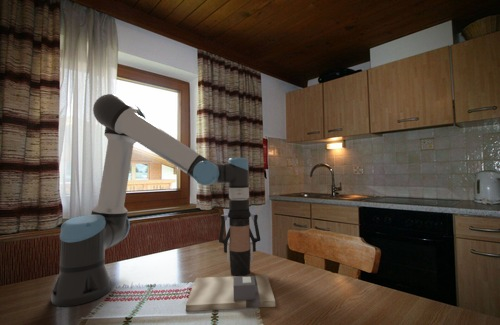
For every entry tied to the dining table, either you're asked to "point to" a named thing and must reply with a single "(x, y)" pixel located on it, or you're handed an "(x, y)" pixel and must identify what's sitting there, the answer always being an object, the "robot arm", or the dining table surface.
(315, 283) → the dining table surface
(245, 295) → the grey small block
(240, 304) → the panel
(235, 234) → the travel mug
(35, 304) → the dining table surface
